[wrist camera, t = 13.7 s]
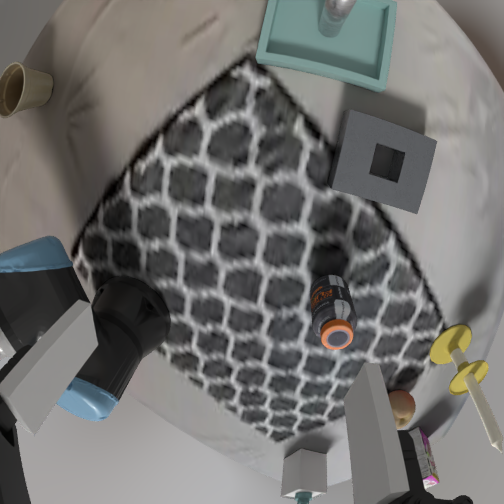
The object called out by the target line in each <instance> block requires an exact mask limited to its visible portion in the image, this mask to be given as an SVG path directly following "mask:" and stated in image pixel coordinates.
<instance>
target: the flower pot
mask: <svg viewBox="0 0 504 504" xmlns="http://www.w3.org/2000/svg"><path fill="white" fill-rule="evenodd" d="M52 88H53V78H52V77H51V75H50V74H48V73H44V72H40V71H37V70H33V69H29V68H27V67H26V66H24V65H22V64H21V63H19V62H13V63H11V64H10V65H9V66H7V68H6V69H5V70H4V72H3V73H2V75H1V77H0V116H1V117H2V118H8V117H10V116H12V115H13V114H15V113H17V112H18V111H22V110H26V109H30V108H34V107H39V106H42V105H44V104H45V103H46V102H47V101H48V100H49V98H50V96H51V94H52Z"/></svg>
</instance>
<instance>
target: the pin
mask: <svg viewBox="0 0 504 504" xmlns="http://www.w3.org/2000/svg"><path fill="white" fill-rule="evenodd" d="M356 1H357V0H325V4H324V7H323V11H322V15H321V18H320V22H319V25H318V30H319V32H320V33H321V34H322V35H323V36H325V37H328V38H334V37H336V36H337V35H338V34H339V32H340V31H341V29H342V27H343V25H344V23H345V21H346V19H347V17H348V16H349V14H350V12H351V10H352V8H353V6H354V5H355V3H356Z"/></svg>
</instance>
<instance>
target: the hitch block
mask: <svg viewBox="0 0 504 504" xmlns="http://www.w3.org/2000/svg"><path fill="white" fill-rule="evenodd" d="M376 144H378V145H381V146H384V147H387V148H390V149H393V150H395V152H394V156H393V160H392V164H391V168H390V172H389V175H388V178H386V177H383V176H380V175H377V174H374V173H370V168H371V164H372V160H373V156H374V152H375V147H376ZM436 144H437V141H436V140H434V139H431V138H429V137H427V136H424V135H422V134H419V133H417V132H415V131H412V130H409V129H407V128H404V127H402V126H399V125H396V124H394V123H391V122H388V121H385V120H382V119H379V118H377V117H374V116H371V115H367V114H364V113H361V112H358V111H355V110H351V109H349V110H347V111H344V114H343V119H342V123H341V128H340V133H339V137H338V141H337V146H336V150H335V154H334V159H333V163H332V167H331V171H330V175H329V179H328V185H329V186H330V188H331V189H333V190H337V191H340V192H344V193H348V194H352V195H355V196H359V197H362V198H366V199H369V200H373V201H376V202H380V203H383V204H386V205H390V206H393V207H396V208H399V209H403V210H406V211H409V212H412V213H415V214H417V213H418V210H419V207H420V204H421V200H422V197H423V194H424V190H425V187H426V183H427V180H428V176H429V172H430V168H431V165H432V161H433V157H434V152H435V148H436Z"/></svg>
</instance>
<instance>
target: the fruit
mask: <svg viewBox="0 0 504 504" xmlns="http://www.w3.org/2000/svg"><path fill="white" fill-rule="evenodd" d="M388 397H389V401H390V405H391V409H392V412H393V416H394V420H395V424H396V428H397V429H400V428H402V427H404V426H406V425H407V424H408V423H409V422H410V420H411V419H412V417H413V415H414V413H415V406H416V405H415V401H414V398H413V397H412V396H411V395H410V394H409V393H407V392H406V391H403V390H396V391H393V392H391V393H390V394H389V395H388Z"/></svg>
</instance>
